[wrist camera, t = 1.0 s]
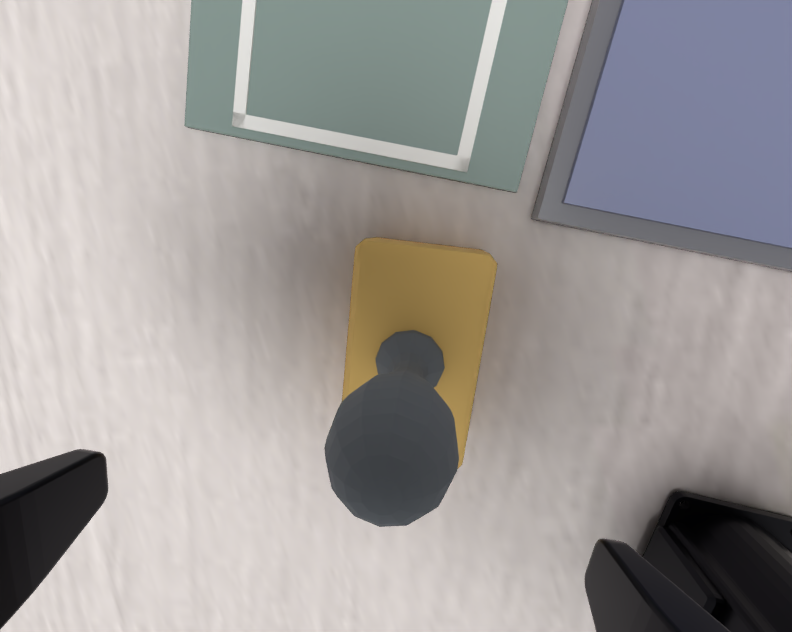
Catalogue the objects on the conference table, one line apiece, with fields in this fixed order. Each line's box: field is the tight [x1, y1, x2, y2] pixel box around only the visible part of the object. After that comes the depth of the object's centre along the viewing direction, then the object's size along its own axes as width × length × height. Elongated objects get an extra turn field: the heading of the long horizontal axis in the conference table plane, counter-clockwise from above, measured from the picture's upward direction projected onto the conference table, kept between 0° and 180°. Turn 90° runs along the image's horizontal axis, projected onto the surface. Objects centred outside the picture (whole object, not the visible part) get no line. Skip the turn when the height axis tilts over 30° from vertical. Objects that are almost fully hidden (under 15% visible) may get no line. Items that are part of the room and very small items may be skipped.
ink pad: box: [531, 0, 792, 272], centre depth 15 cm, size 12×14×2 cm
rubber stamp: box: [325, 237, 497, 527], centre depth 14 cm, size 10×6×12 cm, turn 174°
